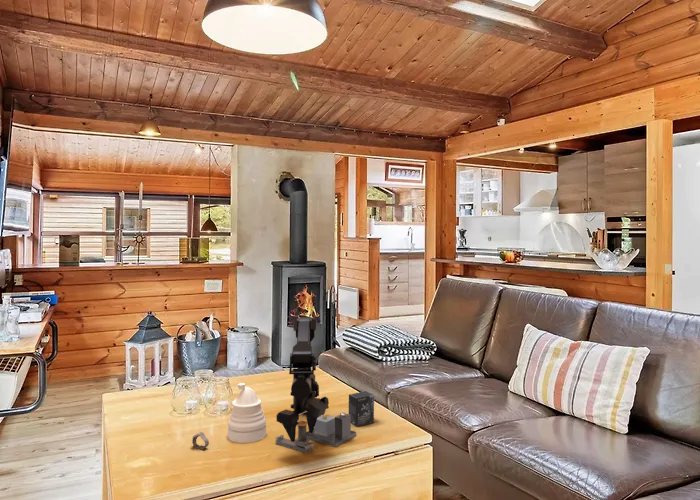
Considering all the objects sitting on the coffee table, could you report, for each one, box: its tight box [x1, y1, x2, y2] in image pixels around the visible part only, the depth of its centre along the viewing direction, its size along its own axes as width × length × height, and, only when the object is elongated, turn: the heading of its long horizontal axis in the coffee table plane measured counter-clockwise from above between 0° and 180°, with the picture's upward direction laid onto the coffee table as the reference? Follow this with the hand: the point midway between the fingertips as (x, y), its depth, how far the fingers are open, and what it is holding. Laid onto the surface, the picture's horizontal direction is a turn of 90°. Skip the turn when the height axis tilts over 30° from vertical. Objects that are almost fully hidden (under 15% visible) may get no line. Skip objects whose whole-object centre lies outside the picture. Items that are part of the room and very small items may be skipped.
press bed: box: [306, 411, 357, 448], centre depth 175 cm, size 14×12×9 cm
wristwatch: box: [191, 431, 210, 450], centre depth 166 cm, size 4×6×5 cm, turn 60°
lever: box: [295, 420, 310, 447], centre depth 165 cm, size 4×3×7 cm
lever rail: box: [275, 434, 313, 454], centre depth 167 cm, size 13×3×2 cm, turn 56°
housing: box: [314, 412, 335, 435], centre depth 176 cm, size 5×5×6 cm
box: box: [348, 390, 375, 428], centre depth 188 cm, size 8×6×11 cm
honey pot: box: [227, 382, 267, 444], centre depth 176 cm, size 13×13×18 cm
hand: (302, 437), depth 165 cm, fingers open, 9 cm apart
